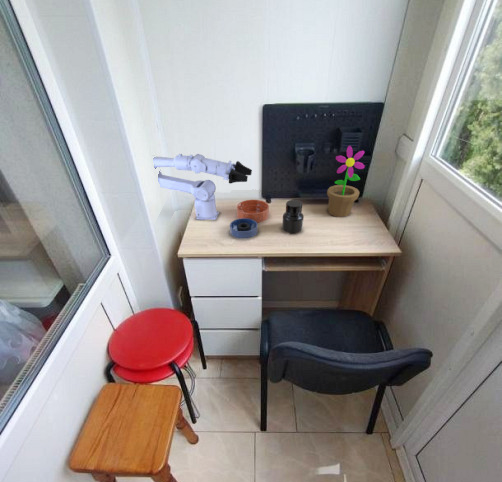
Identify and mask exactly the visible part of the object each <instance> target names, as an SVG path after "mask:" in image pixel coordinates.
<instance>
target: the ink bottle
mask: <svg viewBox="0 0 502 482" xmlns="http://www.w3.org/2000/svg"><path fill="white" fill-rule="evenodd" d="M303 206H304V205H303V202H302V201H301V200H298V199H289V200H286V203H285V212H284V213H283V214H282V223H281V224H282V225H281V228H282V229H281V230H283V232H285V233H288V234H299V233H300V232H302V230H303V225H304V217H305V216H304V214H303V213H302V212H303Z"/></svg>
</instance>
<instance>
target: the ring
mask: <svg viewBox="0 0 502 482" xmlns="http://www.w3.org/2000/svg"><path fill="white" fill-rule="evenodd" d="M238 231H250V225H249V224H248V223H240V224H239V225H238Z"/></svg>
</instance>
